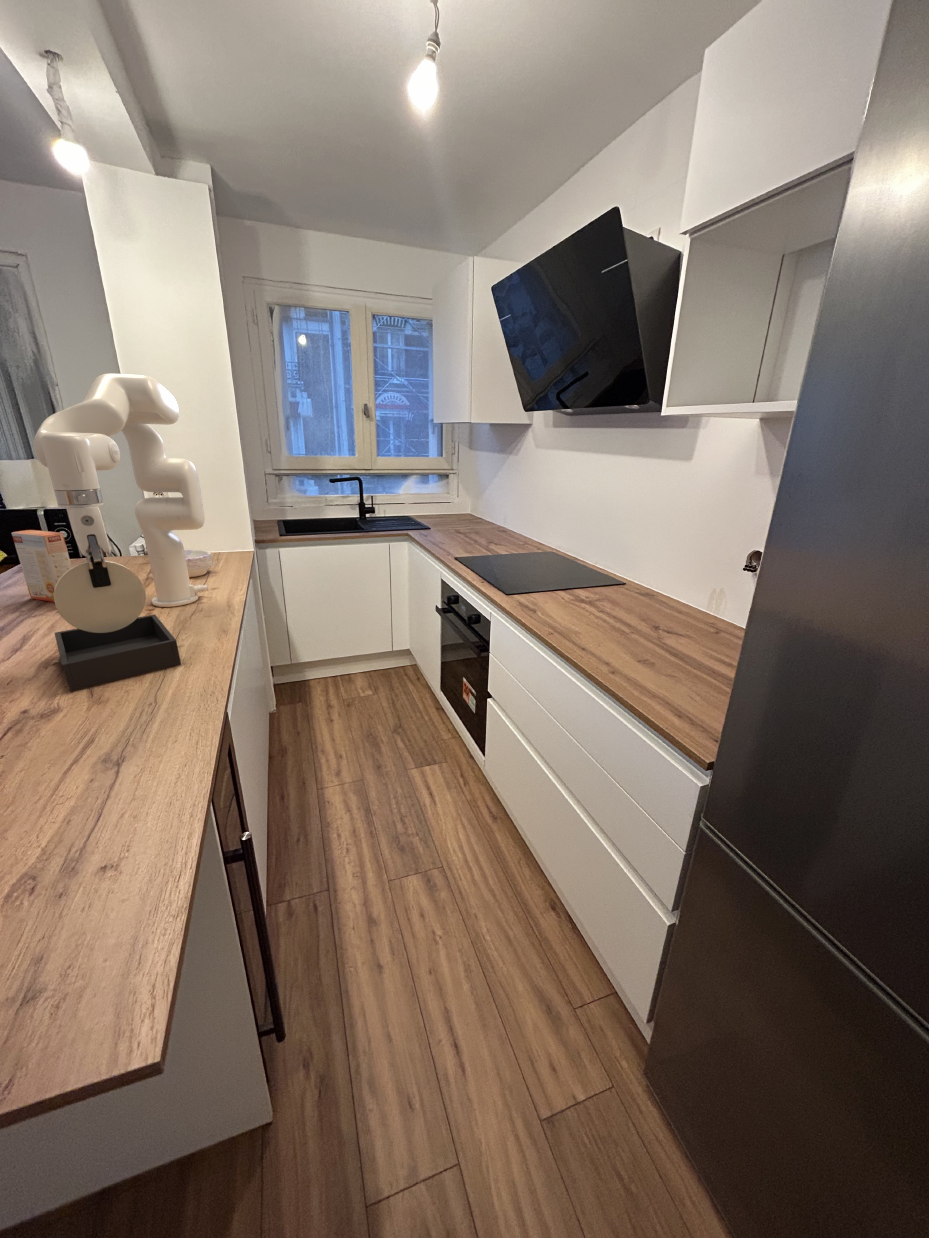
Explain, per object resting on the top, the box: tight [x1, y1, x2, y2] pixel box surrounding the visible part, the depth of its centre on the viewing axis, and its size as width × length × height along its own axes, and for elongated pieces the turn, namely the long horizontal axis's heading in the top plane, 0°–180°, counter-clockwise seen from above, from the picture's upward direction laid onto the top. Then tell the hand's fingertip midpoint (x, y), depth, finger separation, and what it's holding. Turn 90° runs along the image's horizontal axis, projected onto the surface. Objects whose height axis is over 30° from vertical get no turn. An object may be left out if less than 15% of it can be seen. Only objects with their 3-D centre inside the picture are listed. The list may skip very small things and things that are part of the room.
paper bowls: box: [184, 549, 214, 578], centre depth 179 cm, size 15×15×8 cm
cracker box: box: [11, 529, 73, 603], centre depth 148 cm, size 14×6×21 cm, turn 71°
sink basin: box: [54, 613, 182, 693], centre depth 110 cm, size 20×22×6 cm
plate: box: [53, 560, 147, 633], centre depth 105 cm, size 16×1×16 cm, turn 131°
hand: (101, 585), depth 105 cm, fingers closed on plate, 1 cm apart
